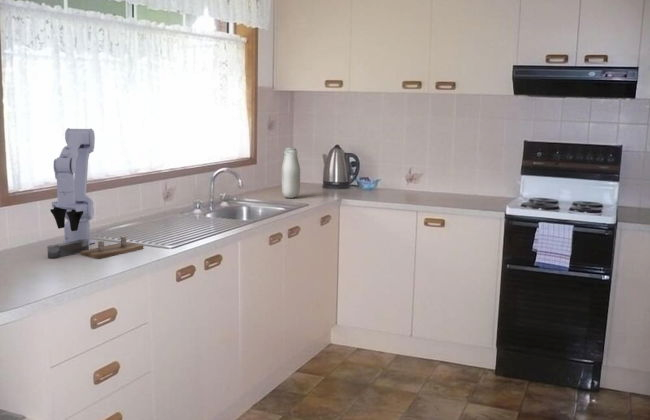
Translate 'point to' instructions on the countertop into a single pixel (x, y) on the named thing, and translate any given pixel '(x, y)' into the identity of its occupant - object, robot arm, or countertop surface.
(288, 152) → the glass bottle
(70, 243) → the dark grey bar
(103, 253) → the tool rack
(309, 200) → the countertop surface
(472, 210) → the countertop surface
